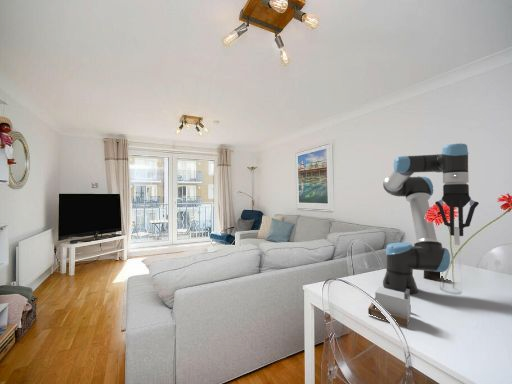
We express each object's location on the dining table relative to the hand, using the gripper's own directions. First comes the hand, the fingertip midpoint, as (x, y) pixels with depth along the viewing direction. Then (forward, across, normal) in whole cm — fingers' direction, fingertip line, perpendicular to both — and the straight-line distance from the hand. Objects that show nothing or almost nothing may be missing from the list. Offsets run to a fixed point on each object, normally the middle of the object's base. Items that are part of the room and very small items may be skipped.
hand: (456, 244), depth 88 cm
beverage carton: (+30, -8, +56) cm, 64 cm away
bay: (+29, -21, -11) cm, 38 cm away
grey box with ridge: (+30, -20, -11) cm, 38 cm away
